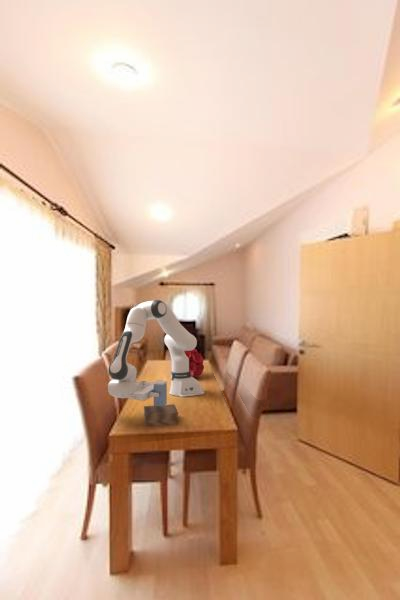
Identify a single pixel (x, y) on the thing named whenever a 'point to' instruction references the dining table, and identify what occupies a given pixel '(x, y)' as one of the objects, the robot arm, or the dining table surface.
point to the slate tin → (162, 389)
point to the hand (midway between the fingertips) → (161, 392)
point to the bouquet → (195, 362)
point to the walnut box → (160, 415)
